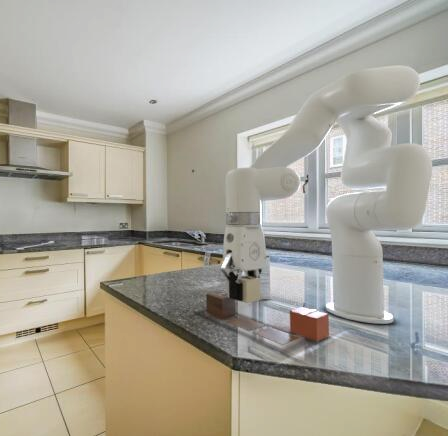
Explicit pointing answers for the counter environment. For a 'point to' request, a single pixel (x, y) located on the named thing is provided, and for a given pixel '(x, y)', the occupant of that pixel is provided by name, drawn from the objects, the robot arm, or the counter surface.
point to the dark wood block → (220, 304)
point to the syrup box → (265, 279)
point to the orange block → (309, 323)
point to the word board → (266, 333)
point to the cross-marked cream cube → (249, 288)
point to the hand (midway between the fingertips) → (243, 296)
